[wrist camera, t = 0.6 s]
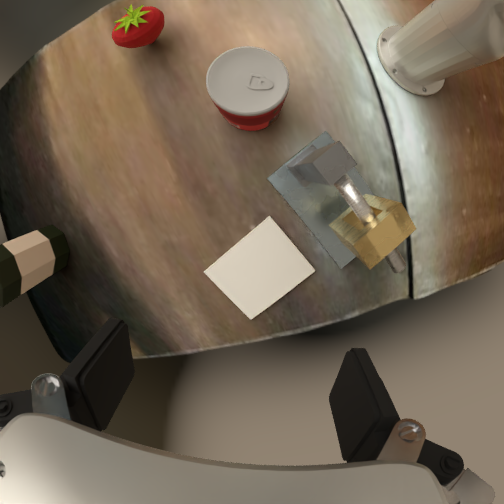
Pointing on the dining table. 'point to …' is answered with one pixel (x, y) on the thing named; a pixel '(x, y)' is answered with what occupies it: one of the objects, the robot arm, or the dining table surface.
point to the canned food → (248, 86)
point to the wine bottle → (30, 261)
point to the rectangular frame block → (374, 230)
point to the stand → (327, 194)
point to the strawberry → (138, 27)
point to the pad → (260, 268)
